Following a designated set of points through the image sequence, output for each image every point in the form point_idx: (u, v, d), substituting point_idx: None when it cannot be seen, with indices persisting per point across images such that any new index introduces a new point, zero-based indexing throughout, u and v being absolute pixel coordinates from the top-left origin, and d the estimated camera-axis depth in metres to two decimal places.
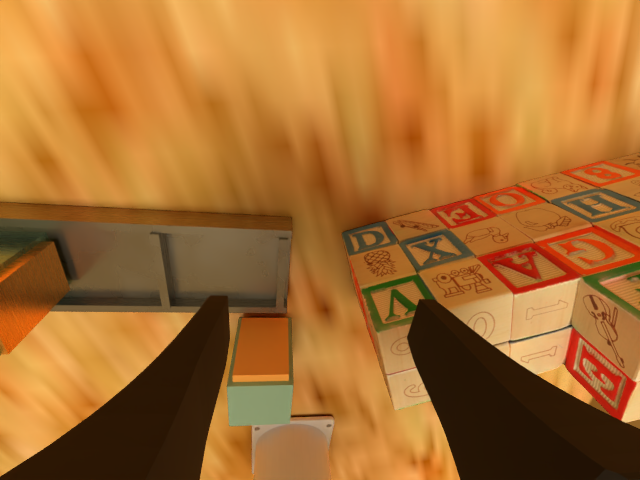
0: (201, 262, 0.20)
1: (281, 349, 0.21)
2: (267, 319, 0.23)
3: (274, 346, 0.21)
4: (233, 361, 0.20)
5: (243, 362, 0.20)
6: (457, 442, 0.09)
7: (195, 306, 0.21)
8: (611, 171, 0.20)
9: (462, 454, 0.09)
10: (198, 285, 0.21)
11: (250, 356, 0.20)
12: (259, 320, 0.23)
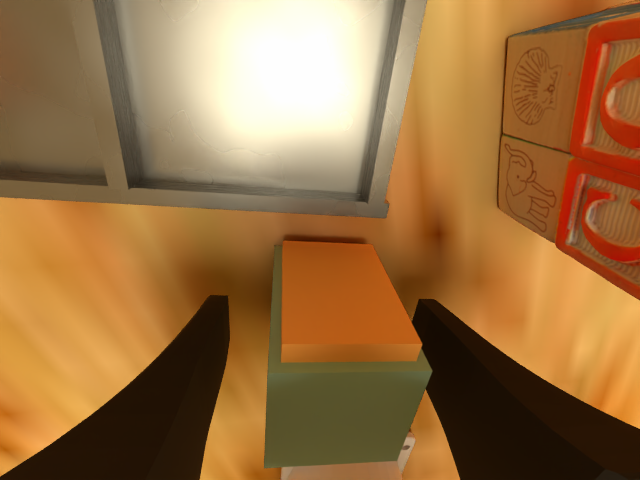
0: (202, 76, 0.08)
1: (381, 293, 0.09)
2: (333, 244, 0.12)
3: (364, 287, 0.09)
4: (275, 317, 0.09)
5: (303, 316, 0.08)
6: (457, 442, 0.09)
7: (186, 190, 0.09)
8: None
9: (462, 454, 0.09)
10: (195, 145, 0.09)
11: (317, 304, 0.09)
12: (318, 245, 0.11)
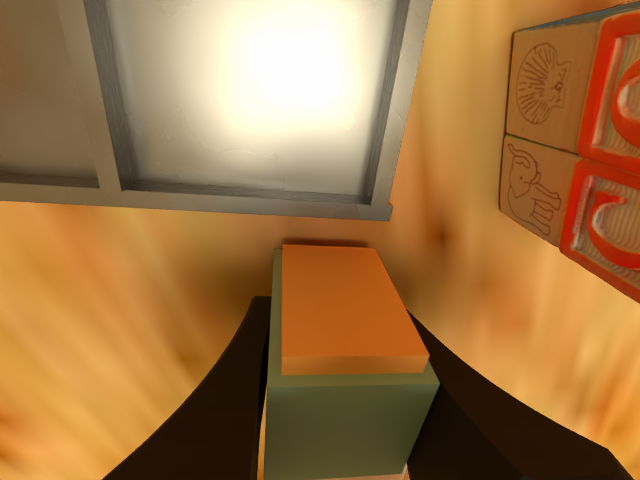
0: (198, 73, 0.08)
1: (385, 300, 0.09)
2: (335, 248, 0.11)
3: (367, 294, 0.09)
4: (275, 326, 0.08)
5: (304, 325, 0.08)
6: None
7: (182, 193, 0.09)
8: None
9: (412, 457, 0.09)
10: (191, 145, 0.09)
11: (318, 313, 0.08)
12: (319, 249, 0.11)
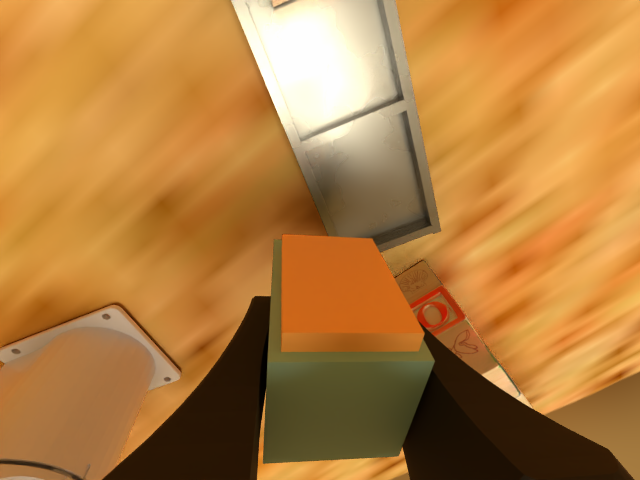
0: (366, 160, 0.17)
1: (382, 284, 0.09)
2: (333, 238, 0.12)
3: (365, 279, 0.09)
4: (275, 308, 0.09)
5: (304, 305, 0.08)
6: (409, 444, 0.09)
7: (314, 177, 0.16)
8: None
9: (412, 457, 0.09)
10: (333, 167, 0.17)
11: (317, 294, 0.08)
12: (318, 239, 0.11)
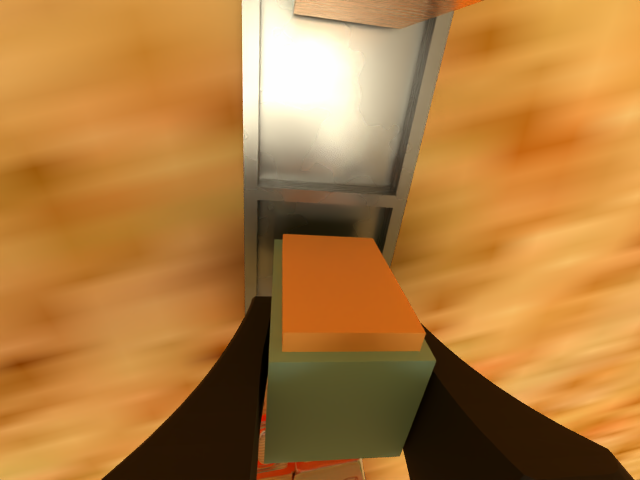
0: None
1: (383, 284, 0.09)
2: (334, 238, 0.12)
3: (365, 278, 0.09)
4: (276, 308, 0.09)
5: (305, 305, 0.08)
6: (408, 444, 0.09)
7: (257, 232, 0.13)
8: None
9: (412, 457, 0.09)
10: (284, 227, 0.13)
11: (318, 294, 0.08)
12: (318, 239, 0.11)
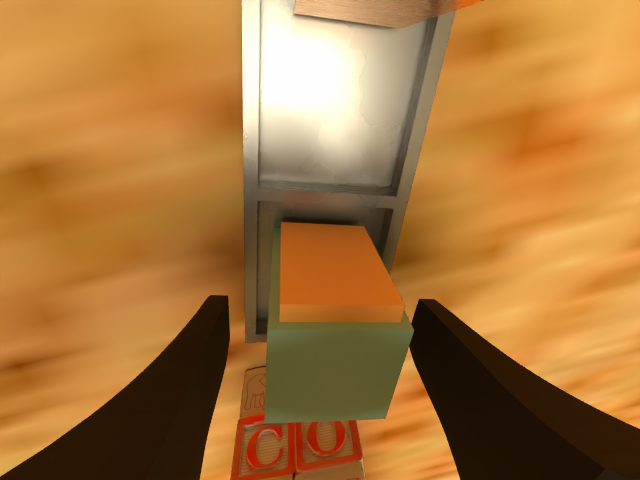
0: None
1: (370, 265, 0.10)
2: (328, 225, 0.13)
3: (355, 261, 0.10)
4: (274, 286, 0.10)
5: (299, 282, 0.09)
6: (457, 442, 0.09)
7: (257, 233, 0.12)
8: None
9: (462, 454, 0.09)
10: None
11: (311, 274, 0.09)
12: (314, 226, 0.12)
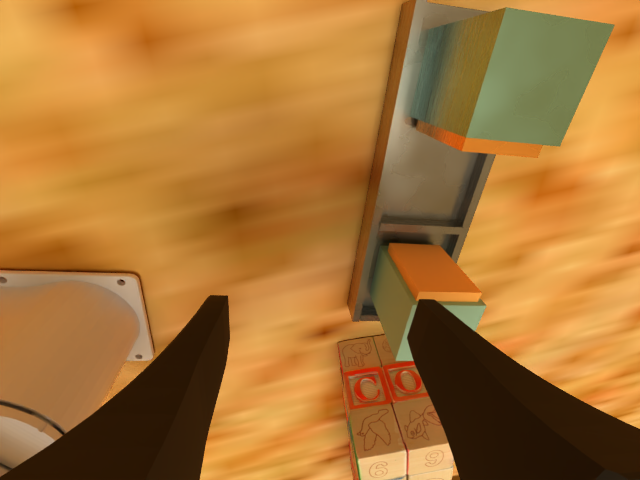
0: None
1: (454, 270, 0.18)
2: (418, 245, 0.20)
3: (445, 268, 0.18)
4: (402, 282, 0.17)
5: (422, 280, 0.16)
6: (457, 442, 0.09)
7: (374, 249, 0.20)
8: None
9: (462, 454, 0.09)
10: None
11: (425, 275, 0.17)
12: (410, 245, 0.20)
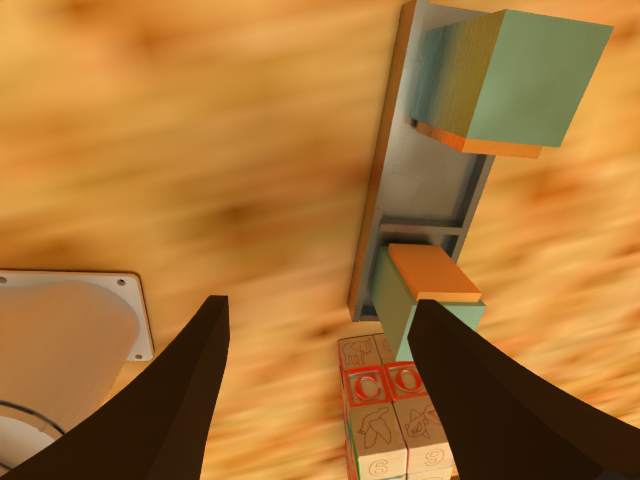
0: None
1: (454, 271, 0.18)
2: (418, 245, 0.20)
3: (444, 268, 0.18)
4: (402, 283, 0.17)
5: (422, 281, 0.17)
6: (457, 442, 0.09)
7: (374, 250, 0.20)
8: None
9: (462, 454, 0.09)
10: None
11: (425, 276, 0.17)
12: (410, 246, 0.20)
